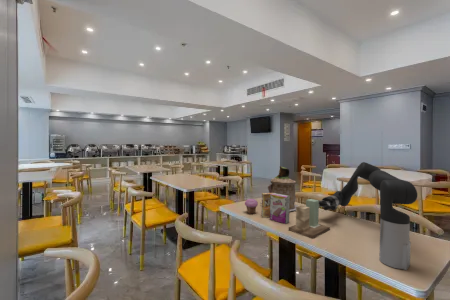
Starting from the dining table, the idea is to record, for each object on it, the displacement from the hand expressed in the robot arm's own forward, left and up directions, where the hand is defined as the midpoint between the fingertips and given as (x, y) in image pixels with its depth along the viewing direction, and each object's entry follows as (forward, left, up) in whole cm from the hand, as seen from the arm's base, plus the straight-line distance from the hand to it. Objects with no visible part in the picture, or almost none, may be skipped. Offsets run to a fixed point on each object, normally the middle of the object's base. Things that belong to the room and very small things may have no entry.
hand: (317, 206), depth 128 cm
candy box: (+28, +11, -11) cm, 32 cm away
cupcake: (+40, +15, -11) cm, 44 cm away
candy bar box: (+18, +13, -11) cm, 25 cm away
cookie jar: (+35, -14, -11) cm, 40 cm away
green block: (0, +7, -9) cm, 11 cm away
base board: (-1, +11, -11) cm, 16 cm away
